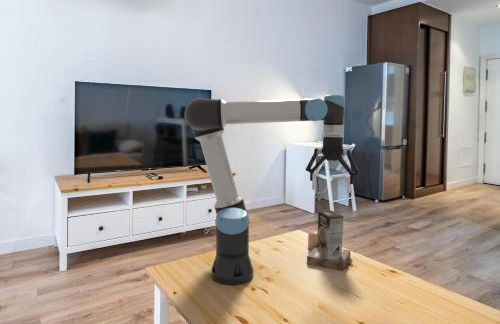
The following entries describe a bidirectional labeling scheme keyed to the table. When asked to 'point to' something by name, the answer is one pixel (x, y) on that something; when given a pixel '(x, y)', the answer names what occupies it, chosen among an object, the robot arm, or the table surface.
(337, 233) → the coffee box
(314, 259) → the walnut picture frame
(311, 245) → the peach glossy stubby part
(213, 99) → the robot arm
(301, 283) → the table surface
